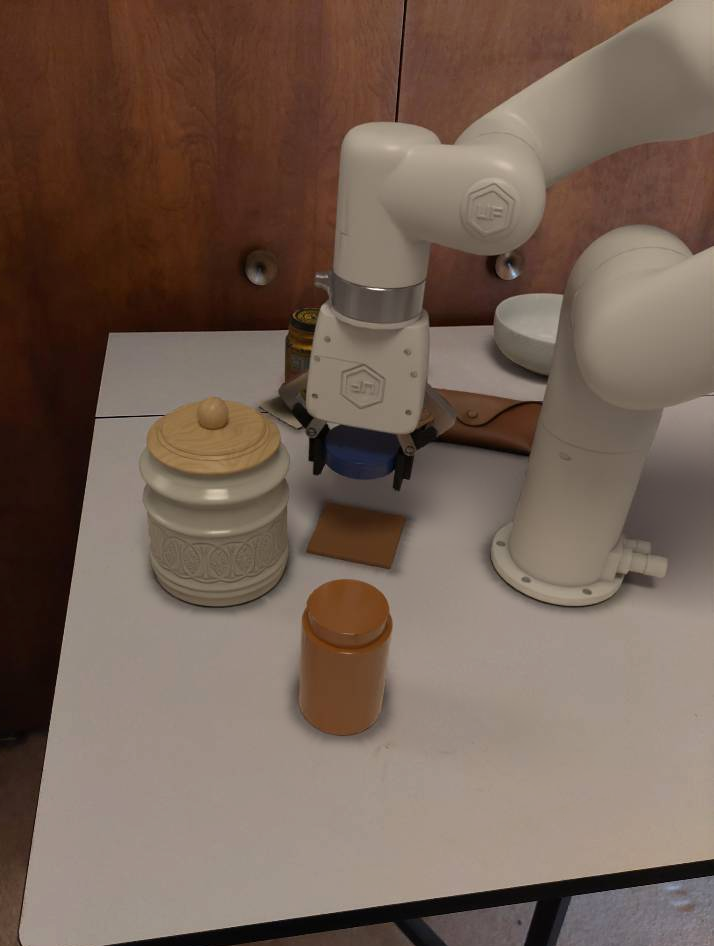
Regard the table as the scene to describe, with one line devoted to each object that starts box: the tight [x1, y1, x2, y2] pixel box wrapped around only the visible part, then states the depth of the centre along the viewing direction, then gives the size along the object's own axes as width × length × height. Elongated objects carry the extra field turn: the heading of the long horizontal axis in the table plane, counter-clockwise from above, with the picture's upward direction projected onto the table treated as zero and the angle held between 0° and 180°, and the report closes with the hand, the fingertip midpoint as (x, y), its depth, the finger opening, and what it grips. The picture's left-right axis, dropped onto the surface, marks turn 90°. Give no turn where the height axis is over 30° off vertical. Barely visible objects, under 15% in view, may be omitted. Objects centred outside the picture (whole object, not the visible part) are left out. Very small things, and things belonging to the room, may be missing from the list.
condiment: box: [257, 307, 321, 429], centre depth 97 cm, size 7×8×12 cm
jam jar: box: [298, 578, 394, 736], centre depth 60 cm, size 7×7×10 cm
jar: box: [138, 396, 291, 607], centre depth 71 cm, size 13×13×18 cm
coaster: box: [305, 501, 407, 570], centre depth 81 cm, size 8×8×1 cm
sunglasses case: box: [395, 387, 543, 455], centre depth 97 cm, size 18×7×7 cm
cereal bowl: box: [493, 292, 564, 377], centre depth 110 cm, size 17×17×7 cm
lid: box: [323, 424, 400, 481], centre depth 75 cm, size 7×7×2 cm
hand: (359, 474), depth 76 cm, fingers closed on lid, 7 cm apart
